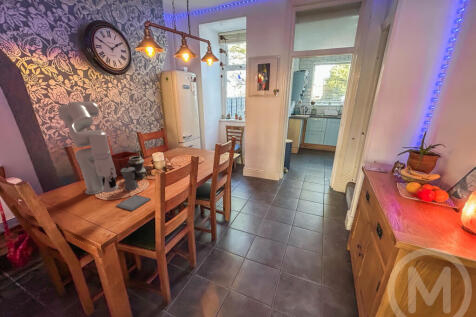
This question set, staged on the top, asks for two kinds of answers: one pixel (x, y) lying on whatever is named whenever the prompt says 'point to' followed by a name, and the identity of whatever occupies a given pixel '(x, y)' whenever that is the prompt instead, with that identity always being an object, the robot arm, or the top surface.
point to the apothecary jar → (137, 166)
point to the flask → (108, 186)
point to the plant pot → (122, 160)
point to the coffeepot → (129, 178)
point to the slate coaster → (133, 202)
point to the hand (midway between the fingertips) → (110, 185)
